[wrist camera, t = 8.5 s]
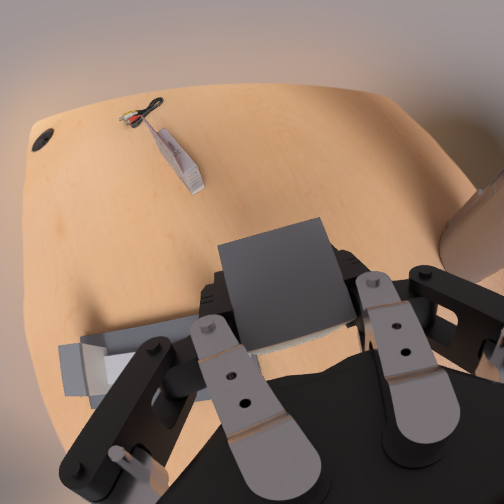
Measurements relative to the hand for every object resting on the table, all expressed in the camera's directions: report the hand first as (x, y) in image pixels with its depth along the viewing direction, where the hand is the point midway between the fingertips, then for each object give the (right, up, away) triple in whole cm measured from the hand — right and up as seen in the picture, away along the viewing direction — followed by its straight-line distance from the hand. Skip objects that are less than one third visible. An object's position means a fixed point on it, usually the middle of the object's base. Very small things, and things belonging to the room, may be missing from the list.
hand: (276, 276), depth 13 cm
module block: (+1, -3, +4) cm, 5 cm away
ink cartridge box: (-12, +14, +29) cm, 34 cm away
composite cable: (-22, +28, +36) cm, 51 cm away
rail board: (-12, -12, +18) cm, 25 cm away
